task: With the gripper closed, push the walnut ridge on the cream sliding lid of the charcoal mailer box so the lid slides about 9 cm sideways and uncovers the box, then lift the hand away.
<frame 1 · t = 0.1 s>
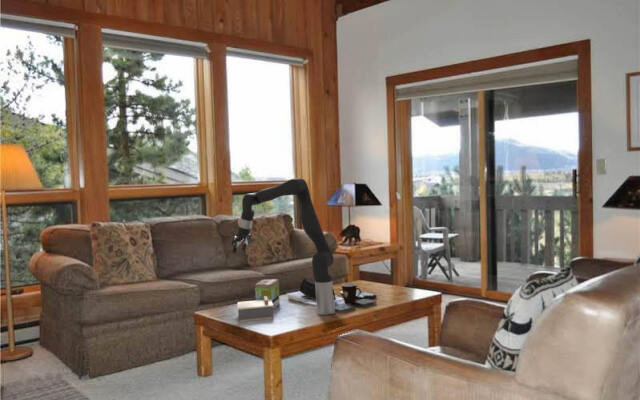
hand: (238, 251, 326), 31 cm above the table, tool tilted 20°, fingers open, 8 cm apart
coffee mug: (351, 302, 319), on the table
tea box: (268, 307, 319), on the table
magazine: (317, 299, 333), on the table
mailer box: (255, 316, 299), on the table
lid: (254, 302, 299), point 8 cm above the table, slide at 0.0 cm
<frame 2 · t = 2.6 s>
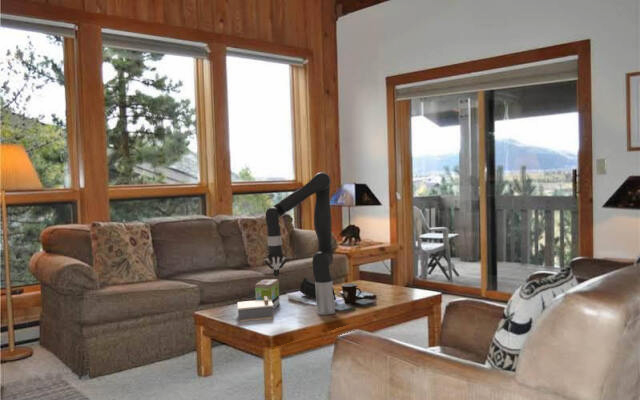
hand: (276, 276, 300), 21 cm above the table, tool pointing down, fingers closed
nothing on the table moved.
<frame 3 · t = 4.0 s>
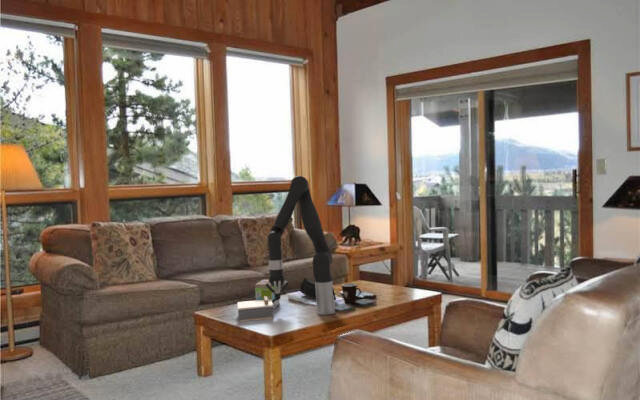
hand: (277, 299, 301), 8 cm above the table, tool pointing down, fingers closed
nothing on the table moved.
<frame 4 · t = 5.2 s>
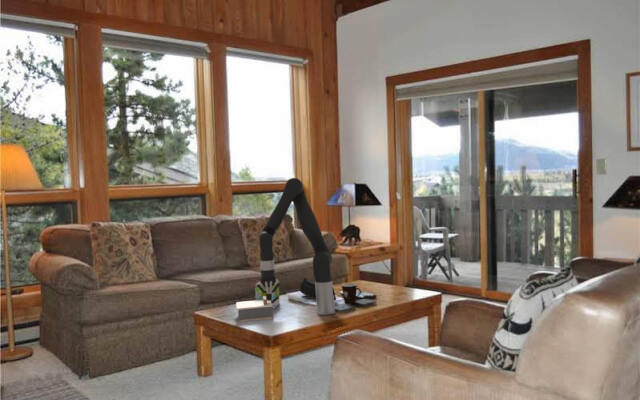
hand: (269, 300, 300), 8 cm above the table, tool pointing down, fingers closed
lid: (253, 302, 299), point 8 cm above the table, slide at 0.6 cm, touching gripper
everything else where it was.
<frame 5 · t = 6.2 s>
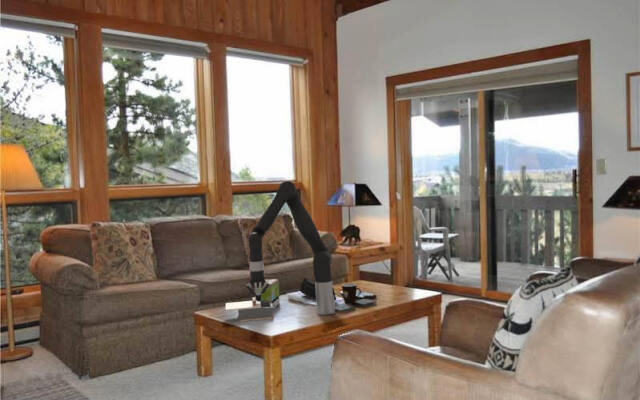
hand: (258, 301, 299), 8 cm above the table, tool pointing down, fingers closed
lid: (243, 303, 298), point 8 cm above the table, slide at 6.3 cm, touching gripper
everything else where it was.
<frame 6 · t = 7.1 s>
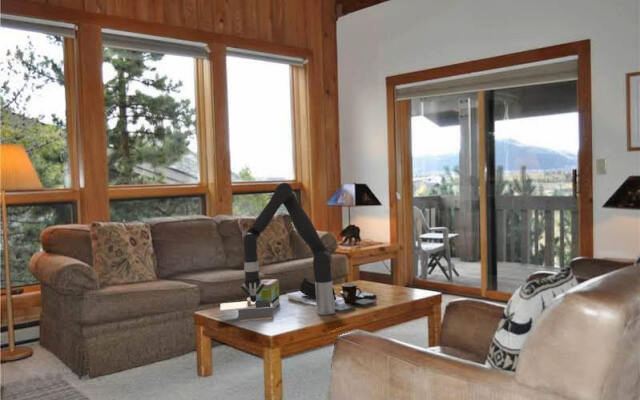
hand: (253, 301, 299), 8 cm above the table, tool pointing down, fingers closed
lid: (237, 303, 298), point 8 cm above the table, slide at 9.1 cm, touching gripper
everything else where it was.
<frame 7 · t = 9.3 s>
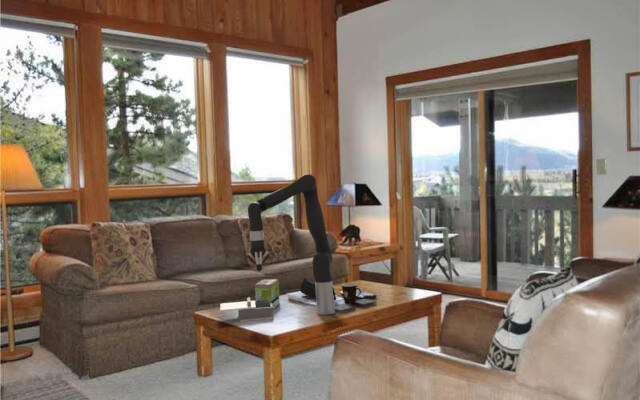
hand: (259, 270, 301), 24 cm above the table, tool pointing down, fingers closed
lid: (237, 303, 298), point 8 cm above the table, slide at 9.1 cm
everything else where it was.
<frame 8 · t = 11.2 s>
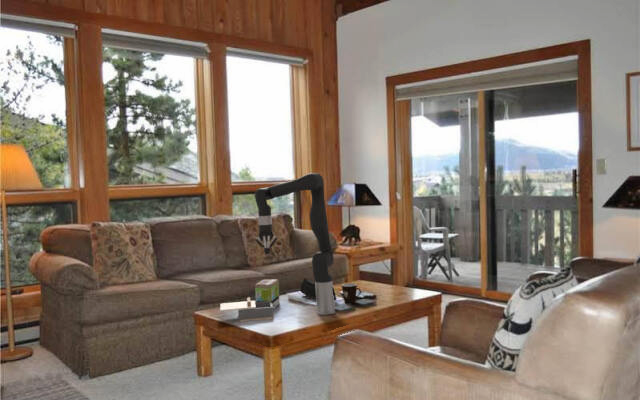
hand: (267, 254, 313), 31 cm above the table, tool pointing down, fingers closed
nothing on the table moved.
at the end: lid slide at 9.1 cm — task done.
